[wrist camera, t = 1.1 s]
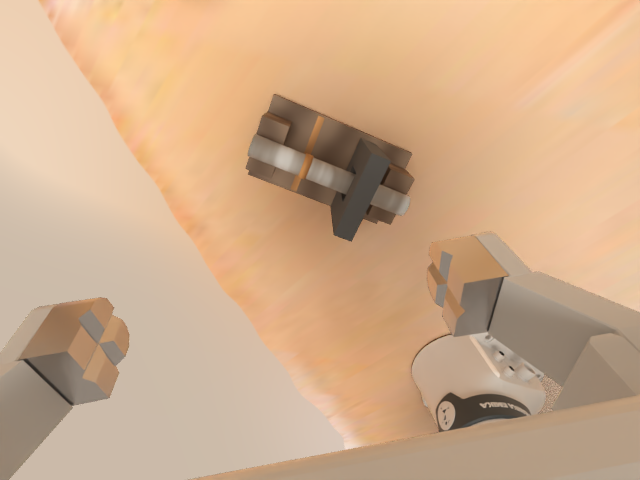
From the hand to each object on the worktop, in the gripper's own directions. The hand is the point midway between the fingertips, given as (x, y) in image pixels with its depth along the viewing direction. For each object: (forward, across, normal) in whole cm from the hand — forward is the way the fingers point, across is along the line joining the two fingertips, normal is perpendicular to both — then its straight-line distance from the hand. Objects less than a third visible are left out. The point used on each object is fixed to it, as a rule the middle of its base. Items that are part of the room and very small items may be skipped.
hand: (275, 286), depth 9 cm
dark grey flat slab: (+31, +8, -13) cm, 35 cm away
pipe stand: (+34, +5, -12) cm, 37 cm away
